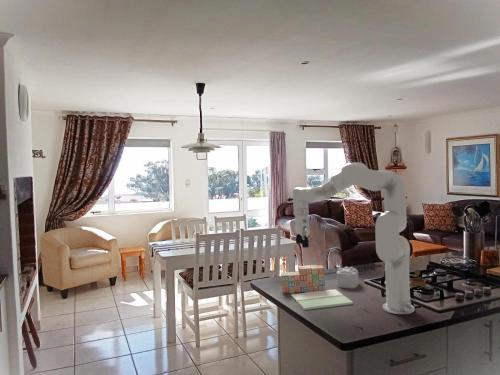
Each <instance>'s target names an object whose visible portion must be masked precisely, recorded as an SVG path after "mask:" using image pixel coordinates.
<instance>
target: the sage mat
mask: <svg viewBox="0 0 500 375" xmlns="http://www.w3.org/2000/svg"><path fill="white" fill-rule="evenodd" d="M297 304H298V305H299V307H301V308H302V309H303V311H309V310H317V309H325V308H334V307H339V306H341V307H342V306H348V305H353V304H354V302H353V301H352V300H351V299H350V298H348V297H347V296H346V295H343V296H338V297H329V298H321V299H313V300H305V301H298V302H297Z"/></svg>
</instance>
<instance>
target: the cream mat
mask: <svg viewBox="0 0 500 375" xmlns="http://www.w3.org/2000/svg"><path fill="white" fill-rule="evenodd" d="M290 296H292V297H293V298H294V299H295V300H296V301H295V300H294V299H293V298H292V297H291V298H292V299H293V300H294V301H295V302H296V303H298V301H305V300H313V299H321V298H329V297H338V296H344V295H343V294H342V293H341V292H340V291H338V290H337V289H334V288H333V289H325V290H324V291H315V292H304V293H290Z"/></svg>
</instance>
